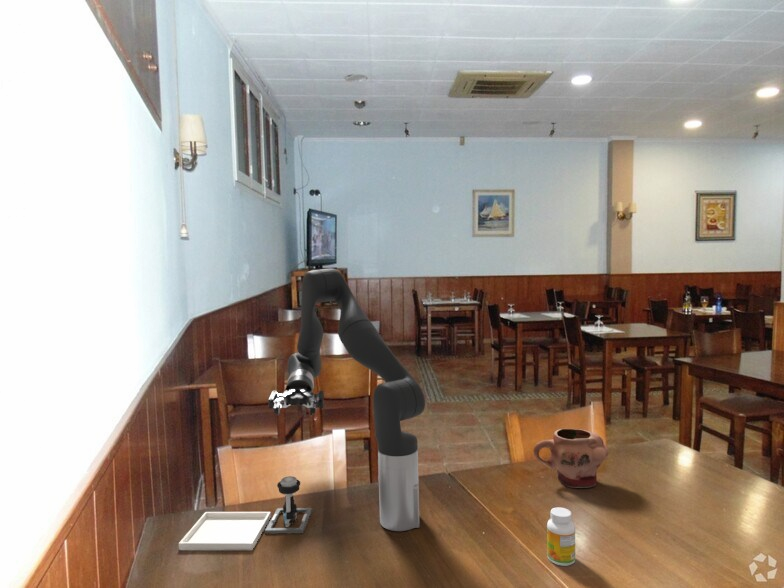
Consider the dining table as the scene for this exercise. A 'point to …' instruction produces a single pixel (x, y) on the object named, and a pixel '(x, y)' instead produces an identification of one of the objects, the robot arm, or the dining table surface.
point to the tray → (226, 531)
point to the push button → (289, 498)
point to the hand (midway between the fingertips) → (294, 411)
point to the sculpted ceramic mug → (574, 456)
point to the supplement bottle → (561, 537)
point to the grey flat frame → (272, 530)
